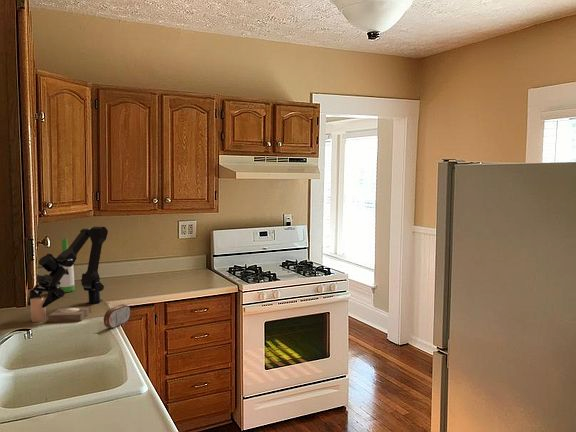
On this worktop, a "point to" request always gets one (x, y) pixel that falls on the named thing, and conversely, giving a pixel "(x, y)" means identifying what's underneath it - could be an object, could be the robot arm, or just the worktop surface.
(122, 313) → the tin
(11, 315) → the worktop surface
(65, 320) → the base
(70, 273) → the wine bottle
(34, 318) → the column
